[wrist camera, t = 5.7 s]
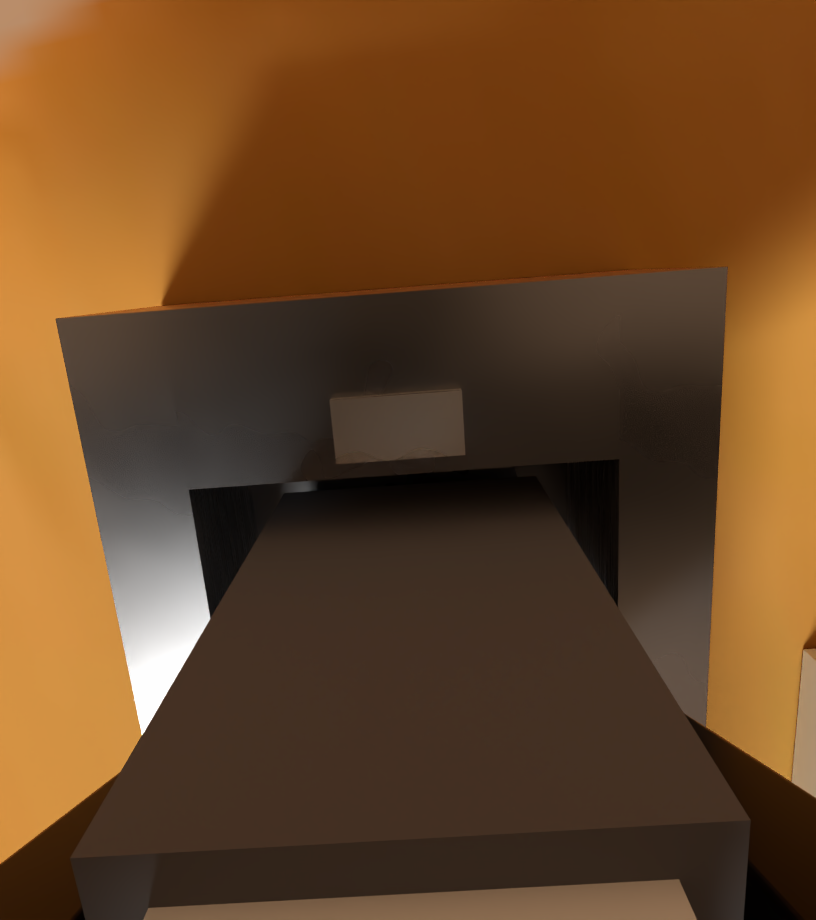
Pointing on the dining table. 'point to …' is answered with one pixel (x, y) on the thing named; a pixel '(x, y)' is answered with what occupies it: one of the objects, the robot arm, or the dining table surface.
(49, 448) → the dining table surface
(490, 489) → the plug
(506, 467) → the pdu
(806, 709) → the tray
